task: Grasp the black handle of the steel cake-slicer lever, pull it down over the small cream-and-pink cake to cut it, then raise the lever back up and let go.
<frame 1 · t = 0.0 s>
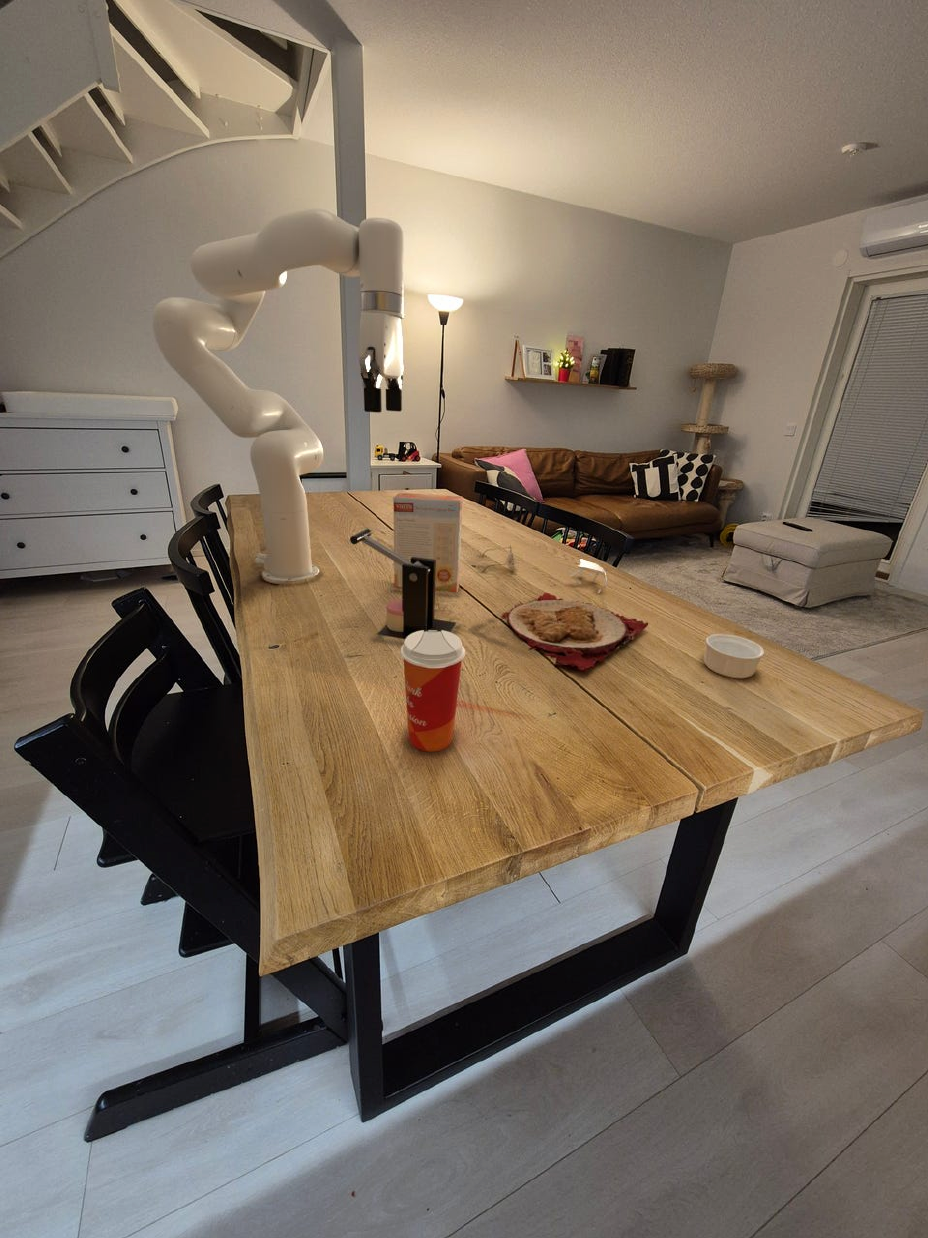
hand: (383, 411, 96), 37 cm above the table, tool pointing down, fingers open, 9 cm apart
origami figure: (588, 587, 120), on the table
plate with food: (560, 632, 96), on the table
slicer: (418, 633, 92), on the table
ramekin: (727, 668, 86), on the table
cracker box: (427, 590, 113), on the table
paper cup: (430, 739, 65), on the table
cake: (402, 625, 92), resting on slicer
slicer lever: (391, 555, 87), point 14 cm above the table, hinge at 25.0°
eyeglasses: (497, 565, 132), on the table
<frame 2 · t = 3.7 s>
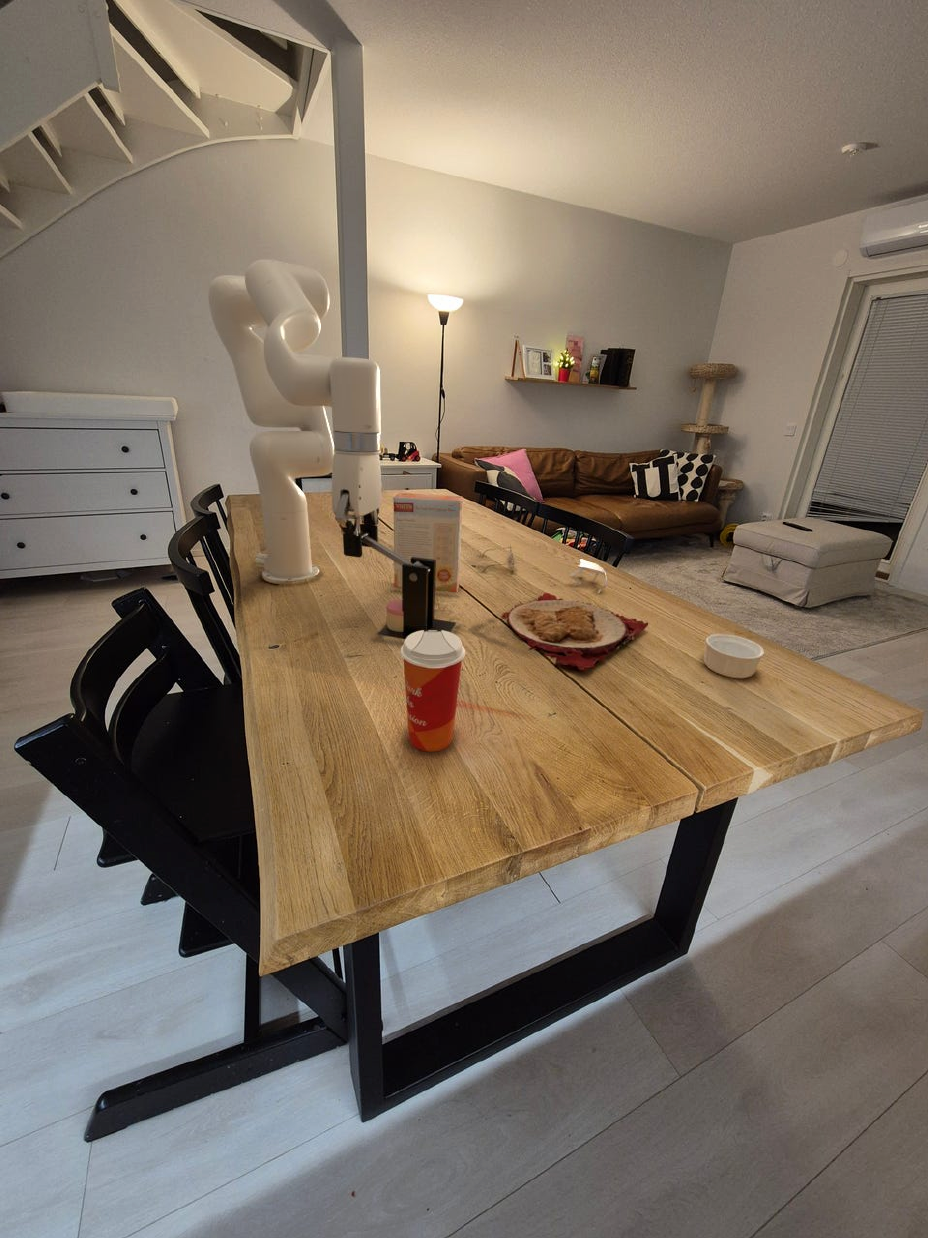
hand: (361, 550, 89), 15 cm above the table, tool pointing down, fingers closed on slicer lever, 5 cm apart
slicer lever: (391, 555, 87), point 14 cm above the table, hinge at 25.0°, touching gripper
everything else where it was.
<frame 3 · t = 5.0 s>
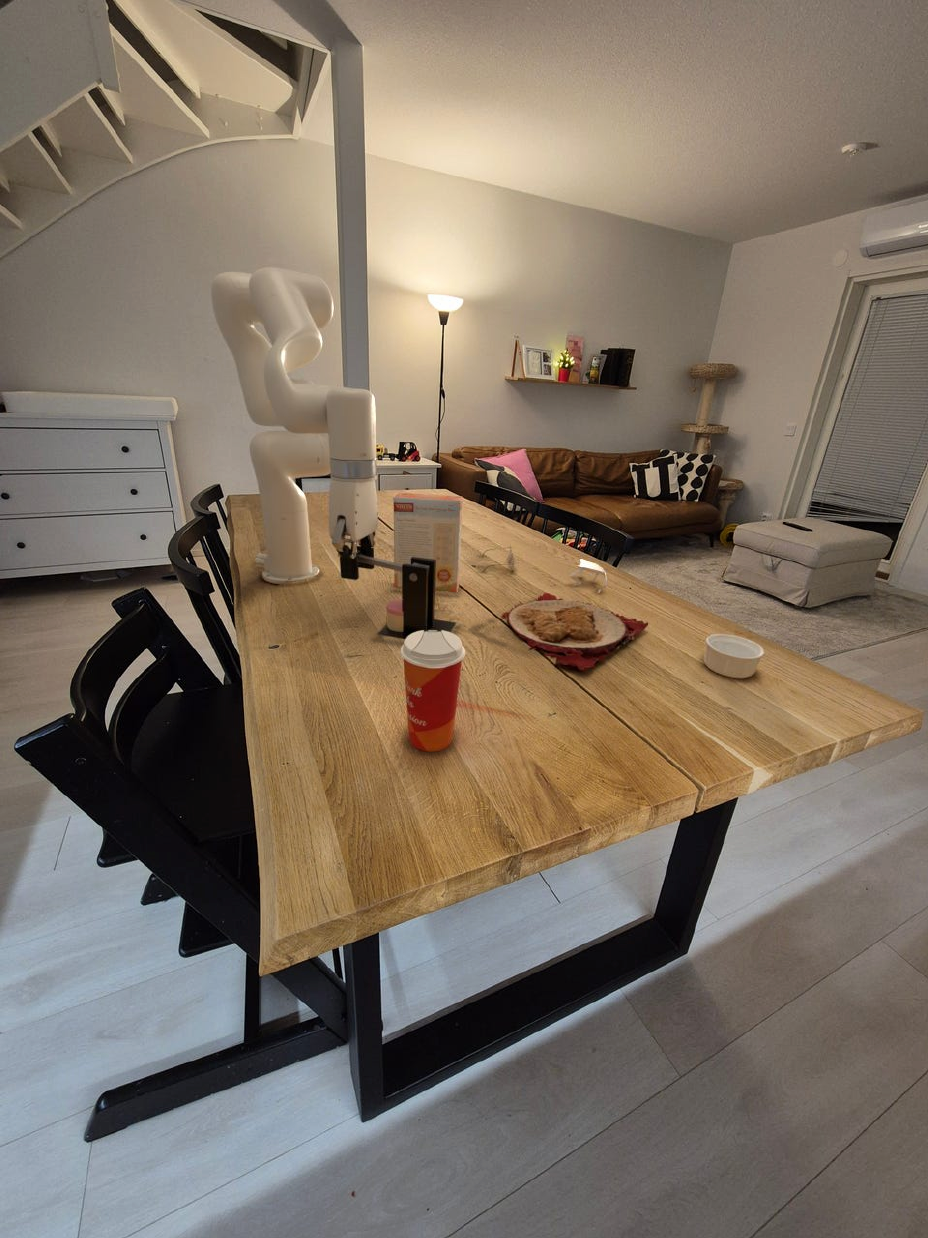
hand: (358, 572, 90), 10 cm above the table, tool pointing down, fingers closed on slicer lever, 5 cm apart
slicer lever: (389, 564, 88), point 13 cm above the table, hinge at 5.5°, touching gripper
everything else where it was.
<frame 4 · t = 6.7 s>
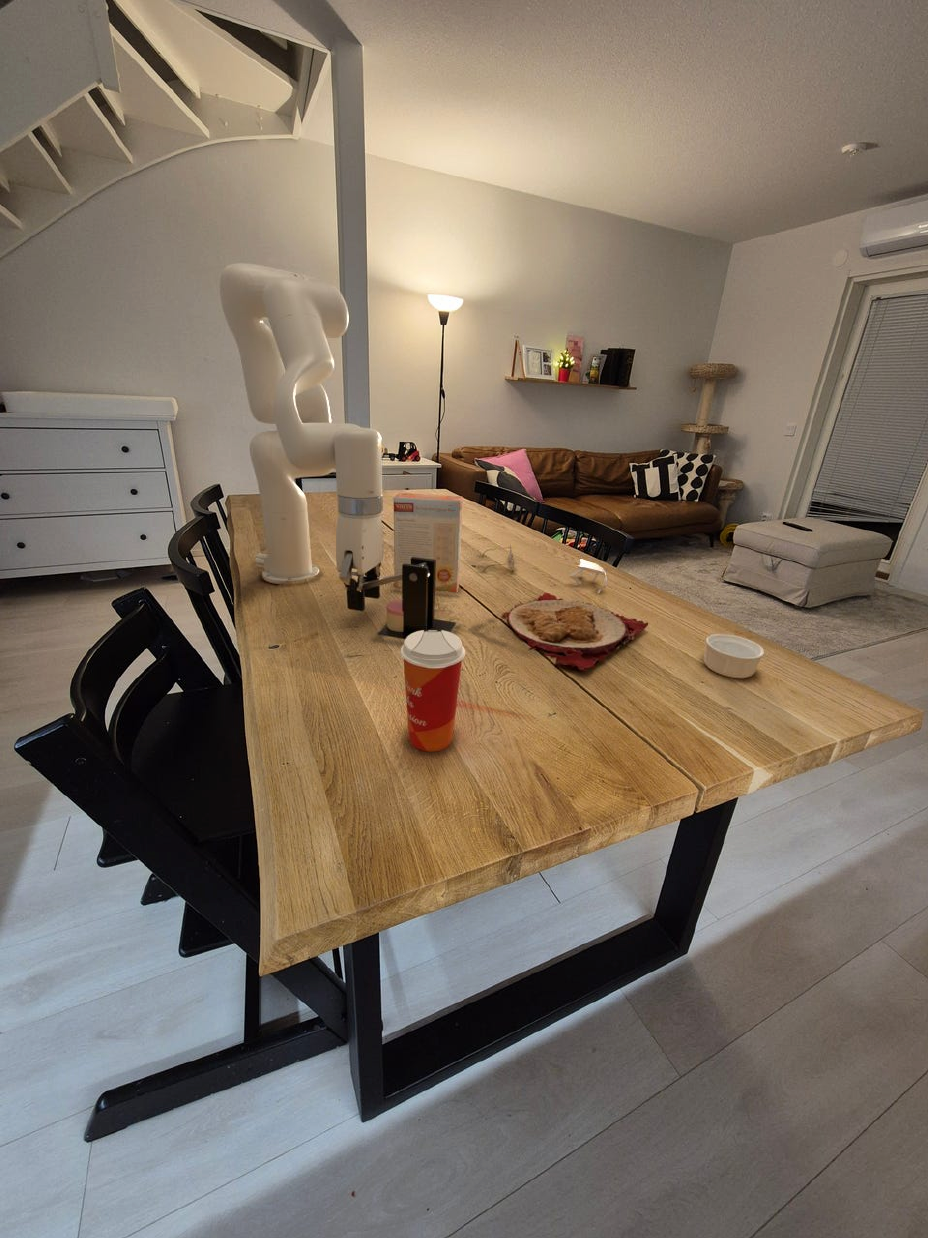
hand: (364, 602, 93), 5 cm above the table, tool pointing down, fingers closed on slicer lever, 5 cm apart
slicer lever: (391, 579, 89), point 10 cm above the table, hinge at -21.4°, touching gripper
everything else where it was.
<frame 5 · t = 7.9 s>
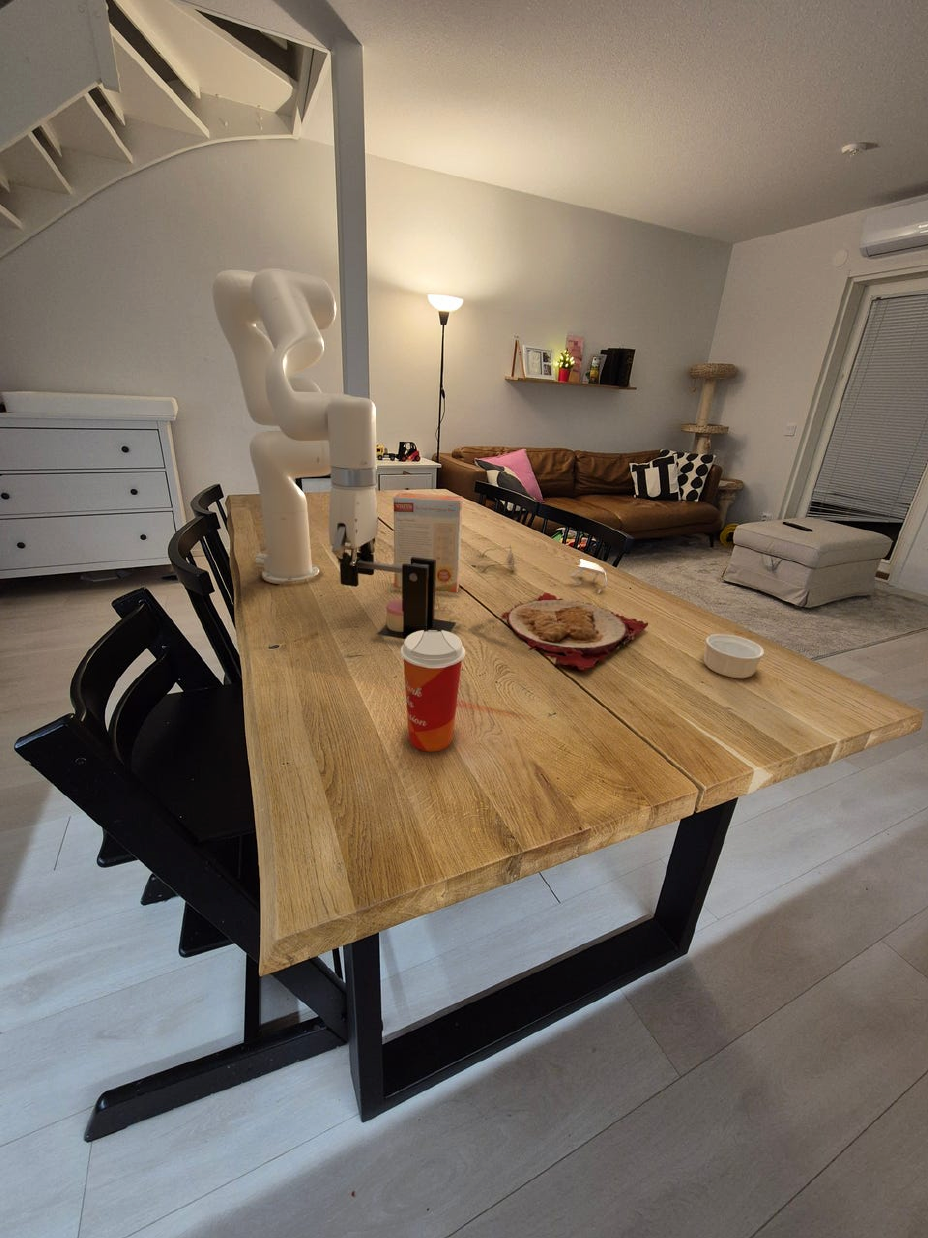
hand: (357, 578, 91), 9 cm above the table, tool pointing down, fingers closed on slicer lever, 5 cm apart
slicer lever: (389, 567, 88), point 12 cm above the table, hinge at 0.0°, touching gripper
everything else where it was.
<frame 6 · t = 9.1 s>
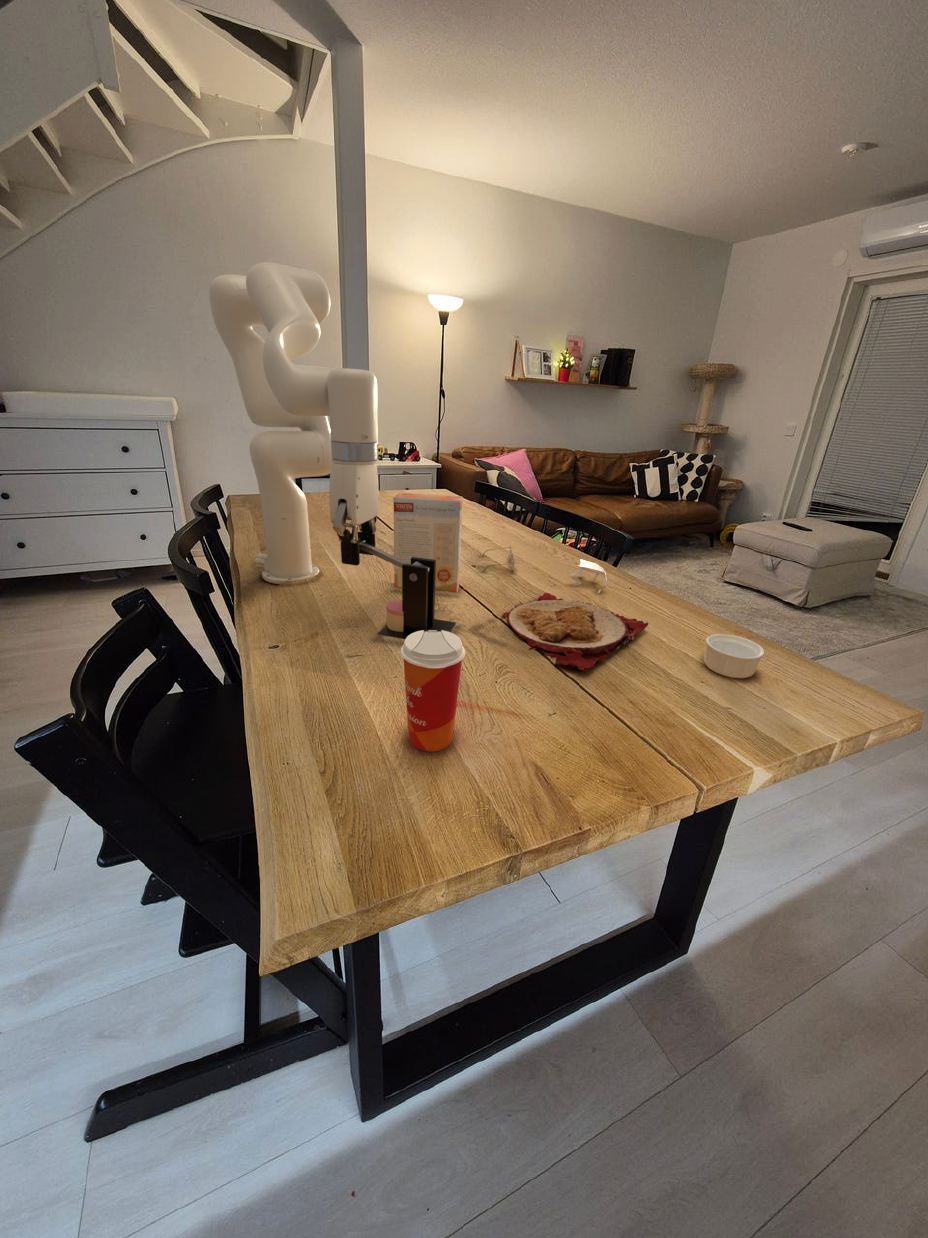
hand: (359, 557, 89), 13 cm above the table, tool pointing down, fingers closed on slicer lever, 5 cm apart
slicer lever: (390, 558, 88), point 14 cm above the table, hinge at 17.9°, touching gripper
everything else where it was.
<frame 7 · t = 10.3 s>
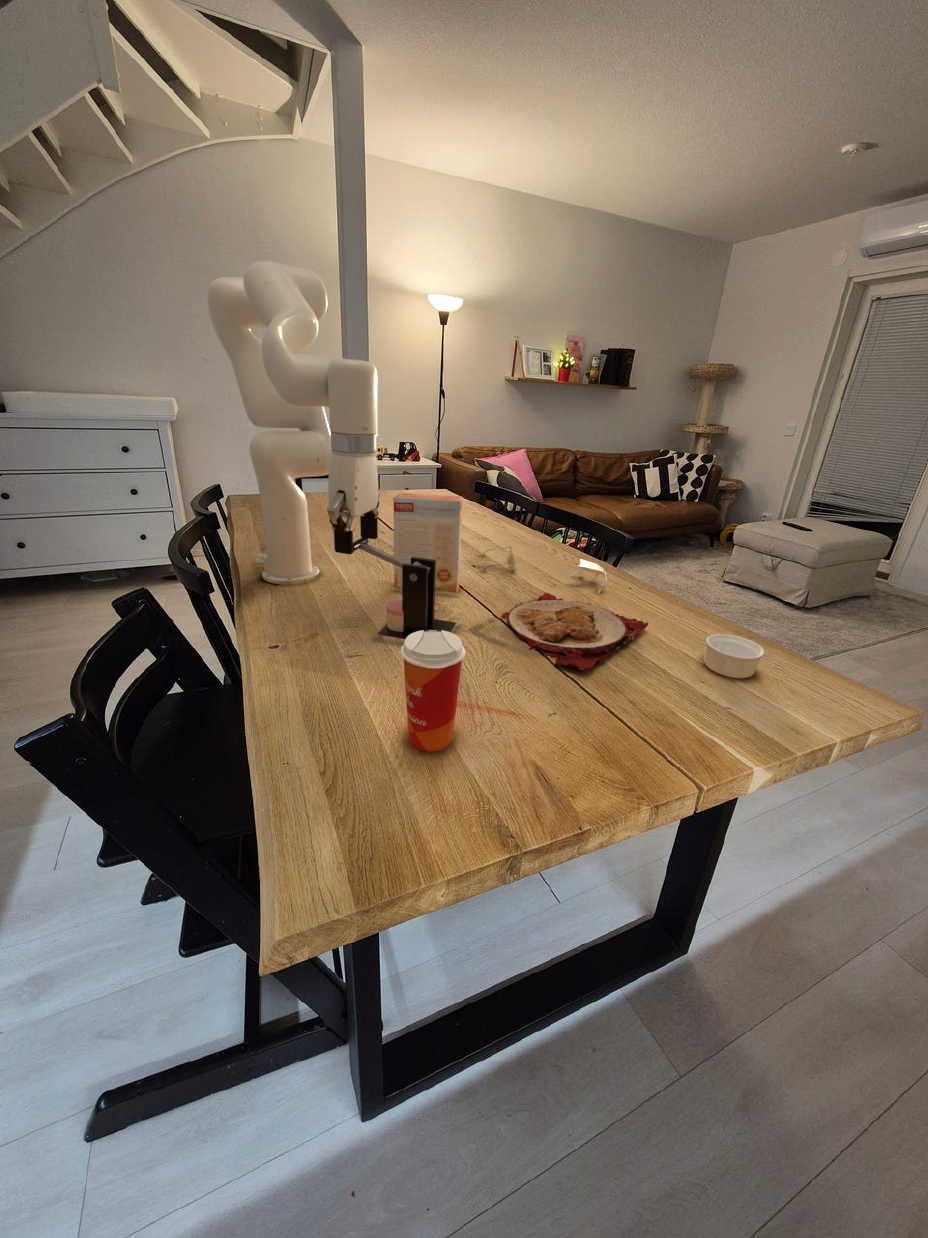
hand: (357, 545, 89), 15 cm above the table, tool pointing down, fingers open, 9 cm apart
slicer lever: (390, 558, 88), point 14 cm above the table, hinge at 17.5°
everything else where it was.
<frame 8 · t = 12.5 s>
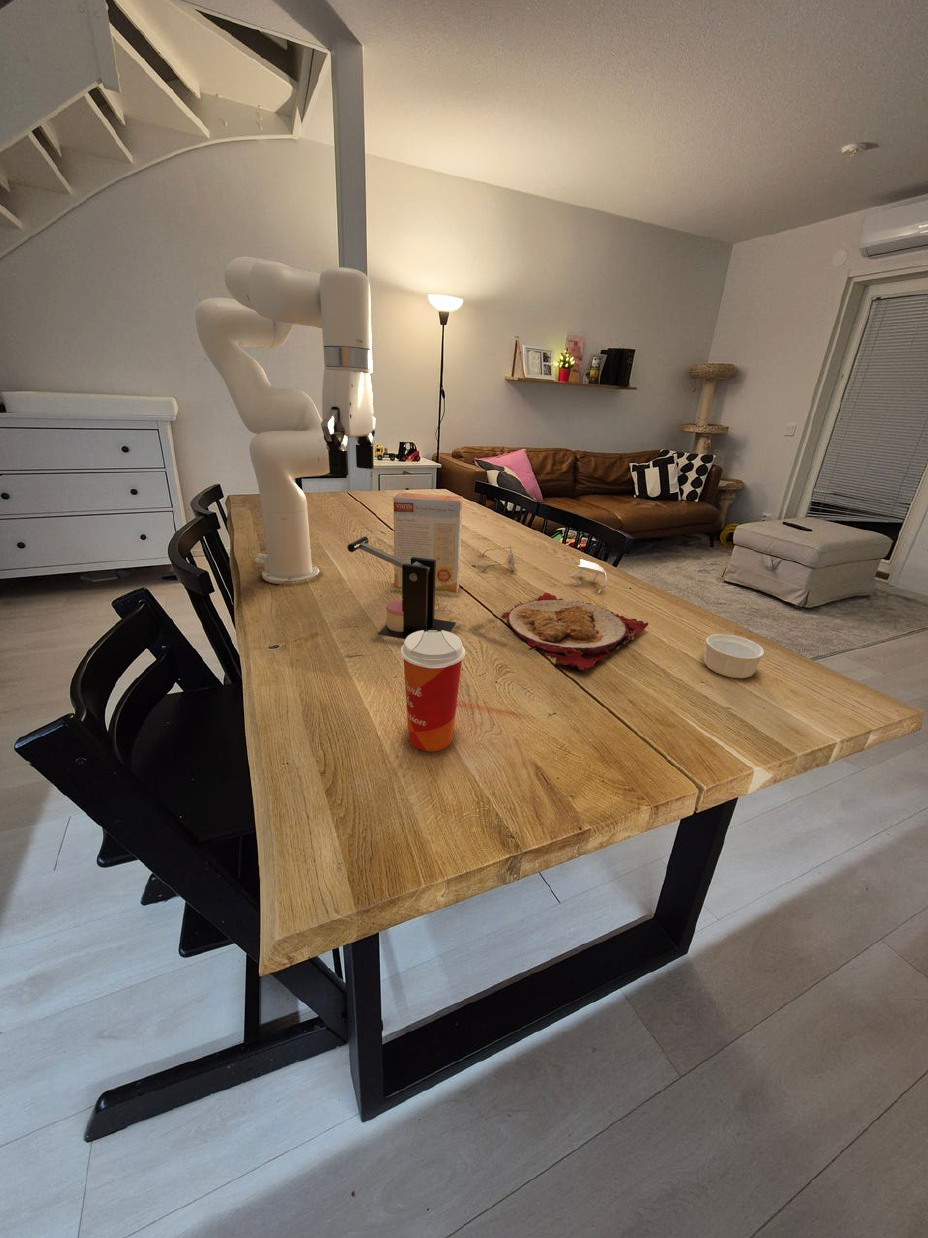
hand: (352, 471, 88), 27 cm above the table, tool pointing down, fingers open, 9 cm apart
nothing on the table moved.
at the end: slicer lever reached -22° during the clip, +18° at the end; slicer lever at +18° (first picture: +25°) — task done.
